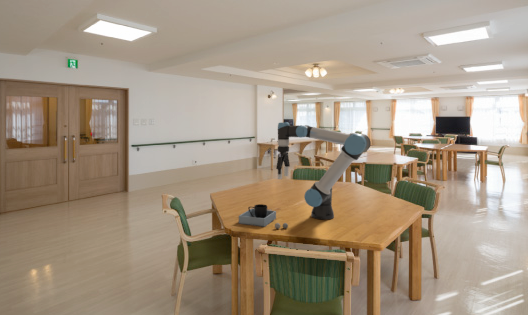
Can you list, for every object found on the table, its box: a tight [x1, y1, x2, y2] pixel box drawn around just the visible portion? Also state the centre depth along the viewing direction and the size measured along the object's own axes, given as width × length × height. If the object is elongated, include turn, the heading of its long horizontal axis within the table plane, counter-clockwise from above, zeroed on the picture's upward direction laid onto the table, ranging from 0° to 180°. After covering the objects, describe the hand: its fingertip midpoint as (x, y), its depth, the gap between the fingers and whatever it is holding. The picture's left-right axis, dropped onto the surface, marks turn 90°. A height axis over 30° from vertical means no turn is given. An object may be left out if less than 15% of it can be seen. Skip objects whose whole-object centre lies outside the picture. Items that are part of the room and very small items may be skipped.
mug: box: [248, 203, 268, 218], centre depth 209 cm, size 8×12×10 cm
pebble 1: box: [274, 222, 281, 230], centre depth 195 cm, size 3×3×3 cm
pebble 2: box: [282, 222, 289, 229], centre depth 195 cm, size 3×3×3 cm
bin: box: [238, 207, 277, 228], centre depth 210 cm, size 18×20×5 cm
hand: (283, 177), depth 219 cm, fingers open, 13 cm apart
